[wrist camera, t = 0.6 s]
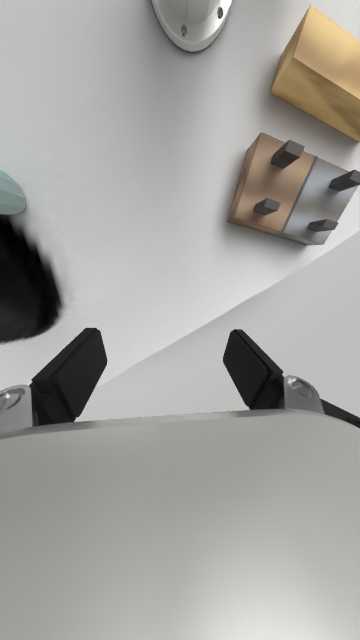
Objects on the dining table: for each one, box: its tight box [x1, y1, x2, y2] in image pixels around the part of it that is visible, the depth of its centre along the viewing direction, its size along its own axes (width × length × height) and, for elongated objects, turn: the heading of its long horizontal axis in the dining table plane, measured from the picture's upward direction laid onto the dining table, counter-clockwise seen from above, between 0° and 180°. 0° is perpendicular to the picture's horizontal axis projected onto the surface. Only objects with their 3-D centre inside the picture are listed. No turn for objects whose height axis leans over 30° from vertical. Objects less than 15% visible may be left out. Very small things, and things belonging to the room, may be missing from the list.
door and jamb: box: [227, 132, 360, 245], centre depth 27 cm, size 12×24×8 cm, turn 78°
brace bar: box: [270, 5, 360, 142], centre depth 22 cm, size 4×22×5 cm, turn 78°
